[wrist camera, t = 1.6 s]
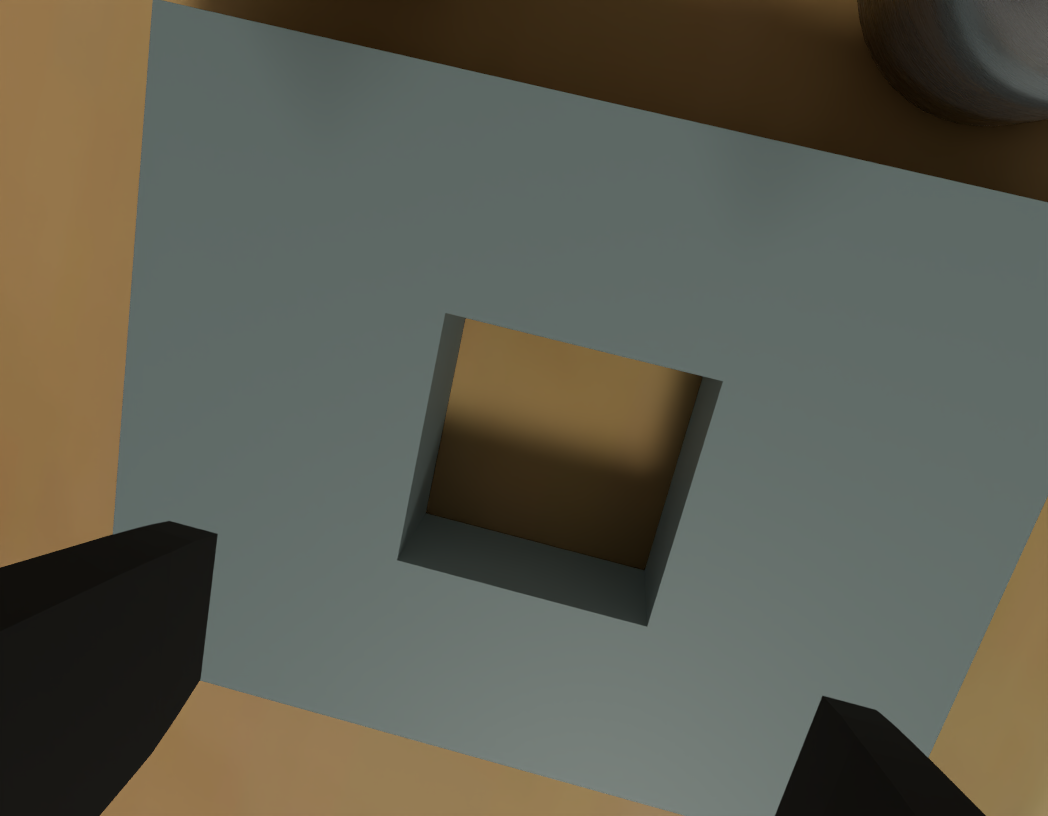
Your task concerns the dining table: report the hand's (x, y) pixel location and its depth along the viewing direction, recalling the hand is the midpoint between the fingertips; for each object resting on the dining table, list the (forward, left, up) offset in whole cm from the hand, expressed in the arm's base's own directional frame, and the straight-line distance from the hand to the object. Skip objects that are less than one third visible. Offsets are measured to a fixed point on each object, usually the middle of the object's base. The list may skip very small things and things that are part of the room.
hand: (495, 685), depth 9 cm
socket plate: (0, 0, -9) cm, 9 cm away
